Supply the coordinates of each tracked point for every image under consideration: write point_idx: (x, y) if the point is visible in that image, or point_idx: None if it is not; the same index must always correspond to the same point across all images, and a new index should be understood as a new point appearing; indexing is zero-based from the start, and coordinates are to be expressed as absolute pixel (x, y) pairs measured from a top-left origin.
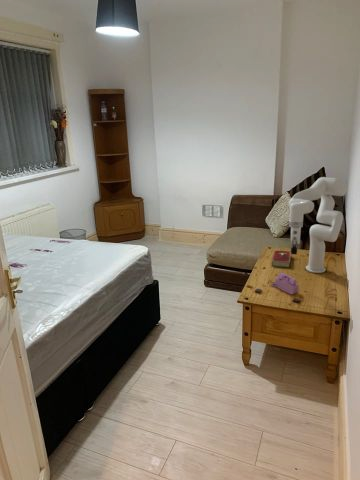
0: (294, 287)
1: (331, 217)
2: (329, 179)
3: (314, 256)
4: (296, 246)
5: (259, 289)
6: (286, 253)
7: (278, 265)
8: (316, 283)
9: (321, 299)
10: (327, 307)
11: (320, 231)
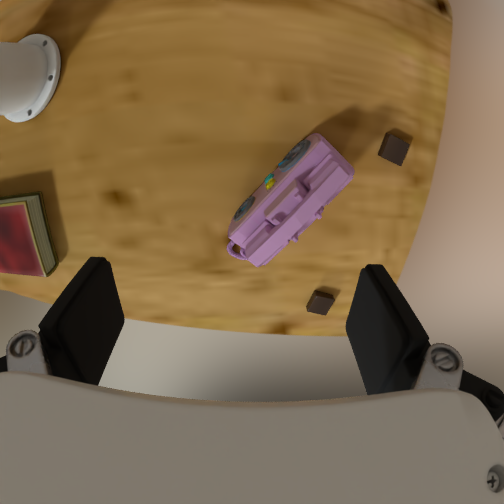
0: (345, 161)
1: None
2: None
3: None
4: (458, 377)
5: (315, 303)
6: None
7: (47, 241)
8: (172, 40)
9: (356, 31)
10: (418, 30)
11: None
